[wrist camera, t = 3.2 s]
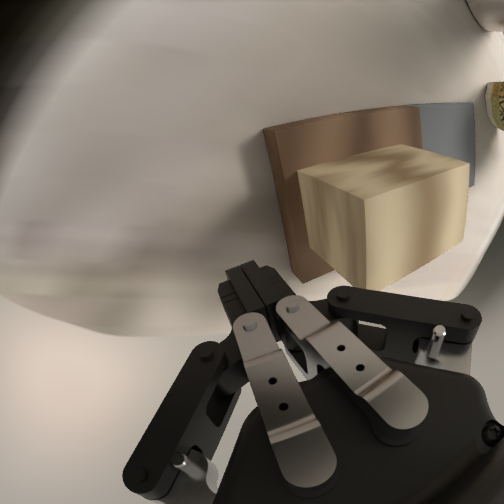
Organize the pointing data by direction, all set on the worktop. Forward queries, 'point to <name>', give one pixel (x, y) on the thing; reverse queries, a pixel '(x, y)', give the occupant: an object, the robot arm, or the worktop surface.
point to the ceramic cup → (495, 103)
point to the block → (384, 212)
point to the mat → (449, 131)
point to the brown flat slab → (325, 150)
